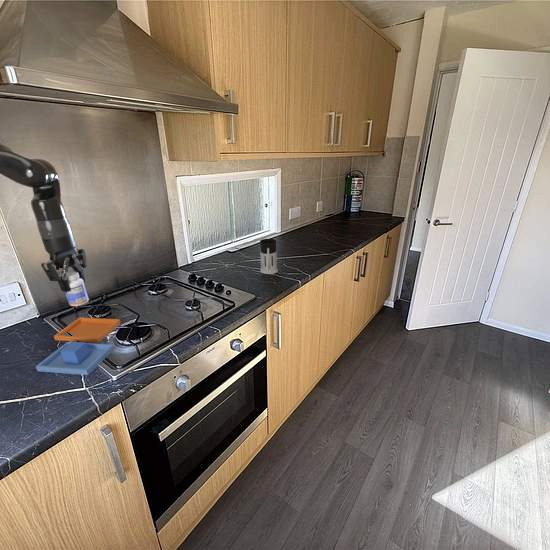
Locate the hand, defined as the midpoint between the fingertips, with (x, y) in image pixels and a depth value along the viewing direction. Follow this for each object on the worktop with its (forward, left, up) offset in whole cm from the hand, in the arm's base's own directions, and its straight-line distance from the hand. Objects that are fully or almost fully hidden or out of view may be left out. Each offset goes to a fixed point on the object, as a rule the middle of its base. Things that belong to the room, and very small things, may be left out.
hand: (74, 286), depth 90 cm
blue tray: (+7, -13, -17) cm, 23 cm away
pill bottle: (0, 0, -6) cm, 6 cm away
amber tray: (0, 0, -17) cm, 17 cm away
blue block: (+7, -13, -16) cm, 22 cm away
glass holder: (+52, +55, -17) cm, 77 cm away
